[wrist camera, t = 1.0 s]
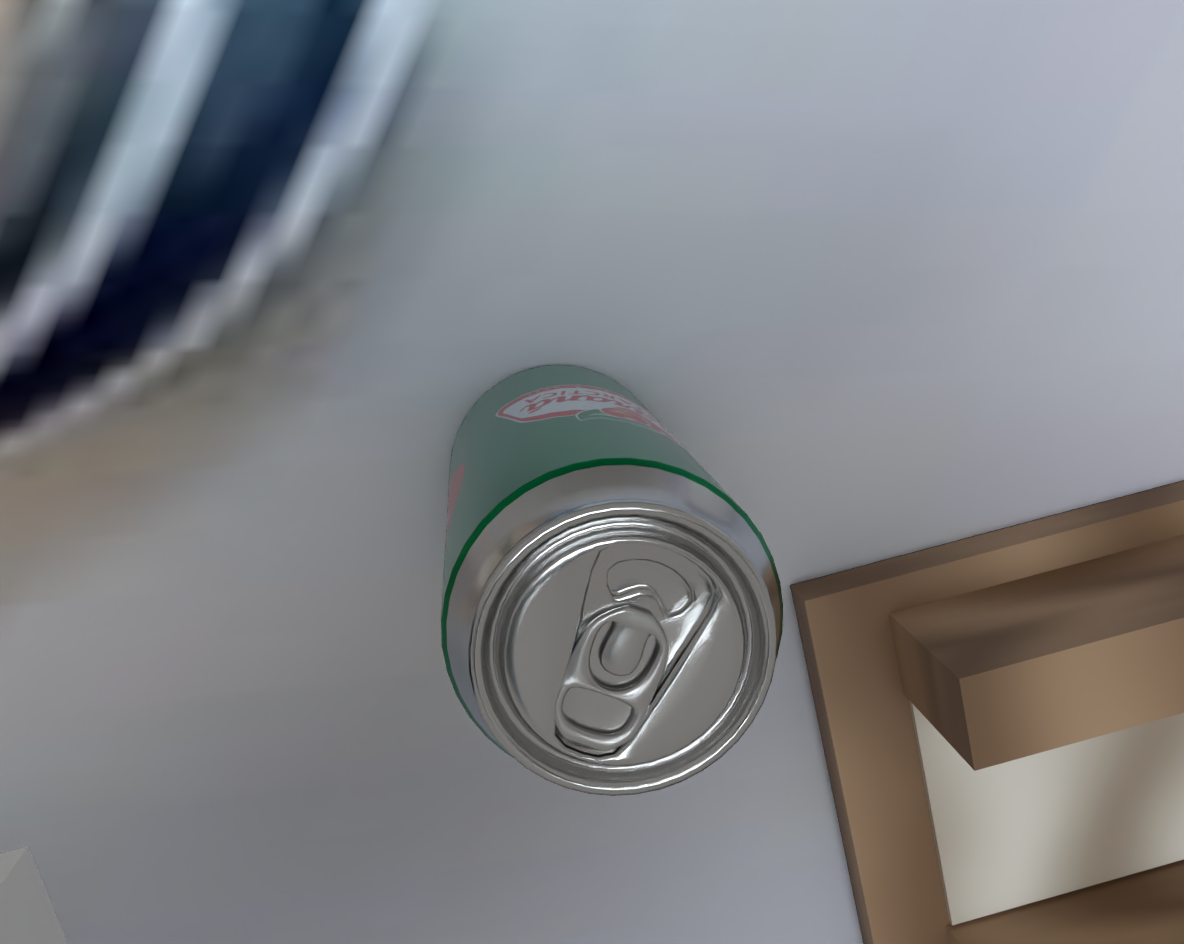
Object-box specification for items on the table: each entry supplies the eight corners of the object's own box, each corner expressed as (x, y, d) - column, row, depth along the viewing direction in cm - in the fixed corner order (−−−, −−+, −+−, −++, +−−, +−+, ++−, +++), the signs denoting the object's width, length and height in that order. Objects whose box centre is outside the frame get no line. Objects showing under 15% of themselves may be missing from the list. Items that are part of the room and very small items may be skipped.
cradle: (877, 1011, 31) (956, 1163, 26) (790, 585, 28) (860, 664, 23) (1407, 858, 32) (1582, 977, 27) (1379, 428, 29) (1570, 472, 24)
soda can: (692, 407, 27) (864, 550, 15) (612, 594, 28) (717, 864, 16) (496, 329, 26) (521, 419, 15) (419, 525, 27) (385, 759, 15)
